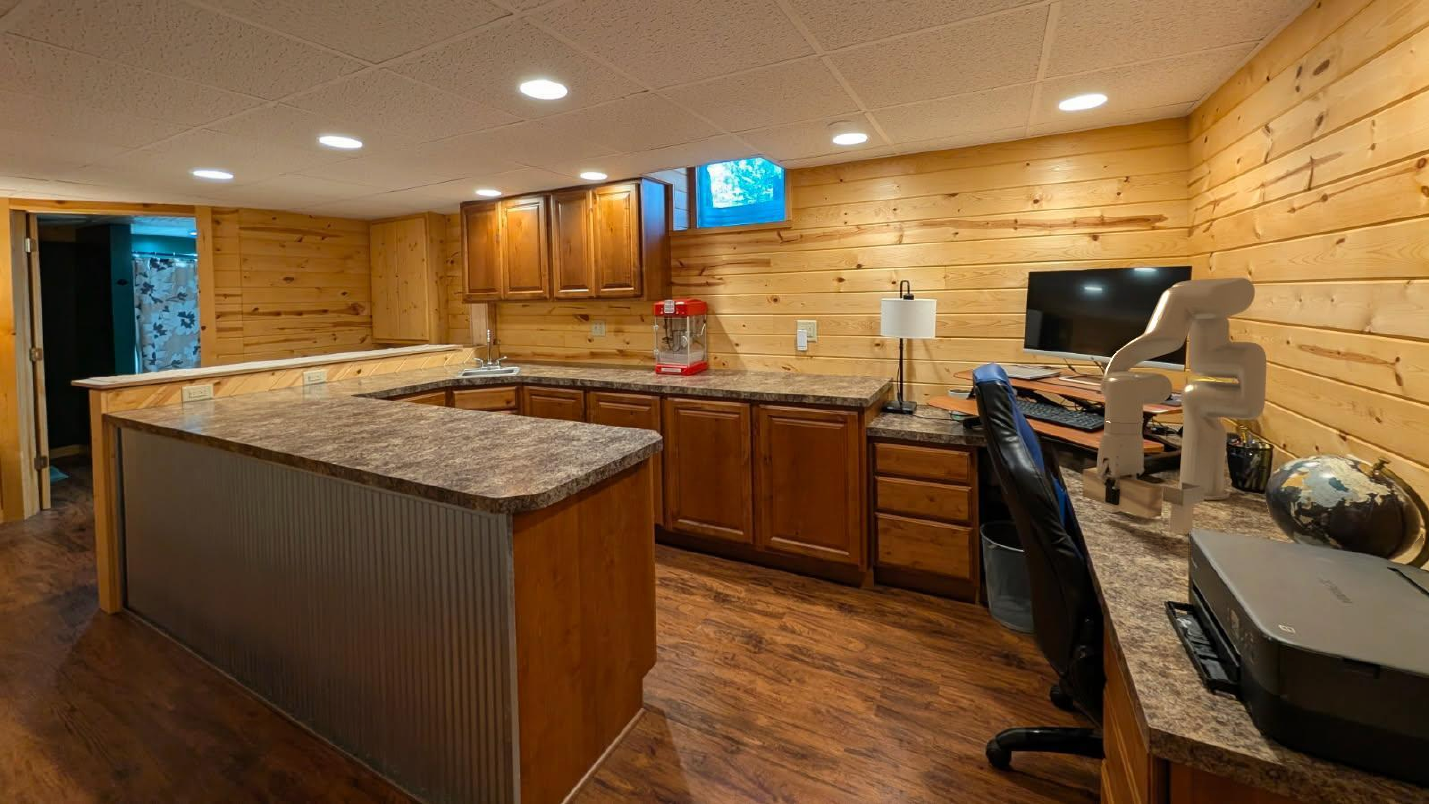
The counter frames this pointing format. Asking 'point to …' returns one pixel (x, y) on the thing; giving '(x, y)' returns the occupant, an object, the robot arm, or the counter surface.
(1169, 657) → the counter surface
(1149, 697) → the counter surface
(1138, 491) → the rail
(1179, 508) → the bracket stand
